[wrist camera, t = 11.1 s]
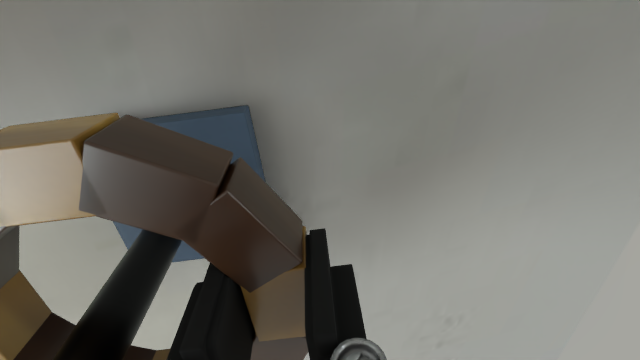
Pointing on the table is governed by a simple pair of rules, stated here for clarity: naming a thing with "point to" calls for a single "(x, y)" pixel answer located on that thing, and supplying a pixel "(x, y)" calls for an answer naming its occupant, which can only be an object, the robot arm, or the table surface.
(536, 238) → the table surface
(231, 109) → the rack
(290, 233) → the ring
